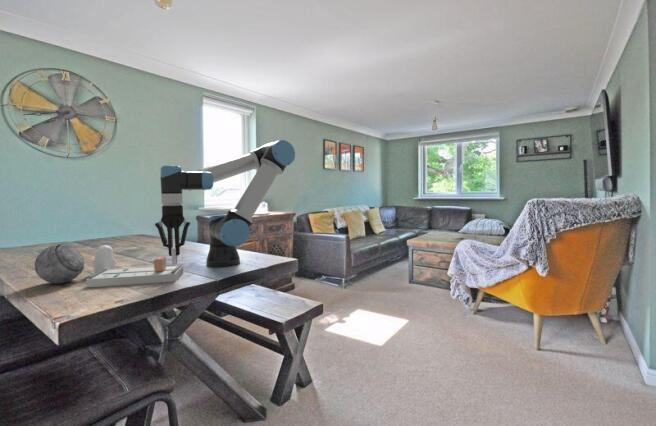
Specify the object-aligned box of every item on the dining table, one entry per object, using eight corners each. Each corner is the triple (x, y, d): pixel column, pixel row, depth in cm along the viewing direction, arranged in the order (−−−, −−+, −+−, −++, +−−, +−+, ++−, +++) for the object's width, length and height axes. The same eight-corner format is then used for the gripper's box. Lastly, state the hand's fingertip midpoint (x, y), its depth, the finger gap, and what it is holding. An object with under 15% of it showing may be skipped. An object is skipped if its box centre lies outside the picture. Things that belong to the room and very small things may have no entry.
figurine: (104, 275, 136) (103, 247, 135) (89, 275, 138) (87, 246, 137) (118, 271, 143) (117, 244, 142) (104, 271, 145) (102, 243, 144)
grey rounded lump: (70, 287, 121) (67, 246, 120) (25, 289, 118) (22, 248, 117) (92, 276, 135) (90, 240, 134) (52, 278, 133) (50, 241, 132)
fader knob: (166, 268, 134) (165, 256, 134) (162, 271, 129) (162, 258, 129) (158, 268, 133) (157, 256, 133) (154, 271, 128) (153, 259, 128)
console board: (183, 272, 140) (183, 264, 139) (175, 281, 126) (175, 271, 126) (103, 277, 133) (103, 268, 133) (86, 287, 120) (86, 277, 119)
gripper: (191, 204, 136) (193, 260, 137) (157, 204, 133) (159, 262, 134) (188, 204, 128) (190, 264, 130) (151, 205, 126) (154, 266, 127)
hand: (174, 263), depth 132 cm, fingers closed
